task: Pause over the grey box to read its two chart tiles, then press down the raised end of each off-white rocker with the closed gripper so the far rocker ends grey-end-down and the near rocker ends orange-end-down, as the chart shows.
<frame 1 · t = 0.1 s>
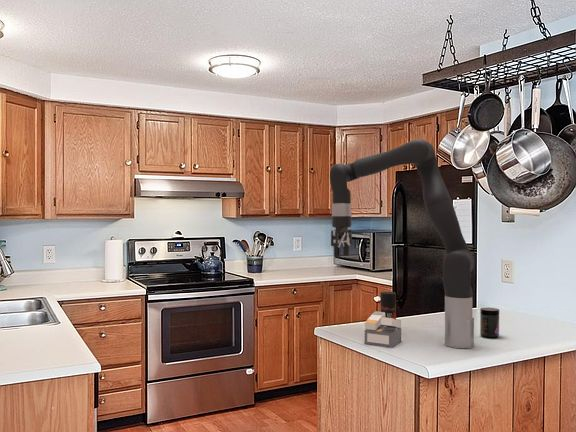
hand: (341, 256, 210), 29 cm above the counter, tool pointing down, fingers open, 8 cm apart
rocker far: (375, 320, 193), point 8 cm above the counter, hinge at -14.0°
grey box: (383, 342, 191), on the counter
supplement container: (489, 337, 200), on the counter
deodorant: (388, 331, 210), on the counter
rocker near: (391, 322, 190), point 8 cm above the counter, hinge at 14.0°
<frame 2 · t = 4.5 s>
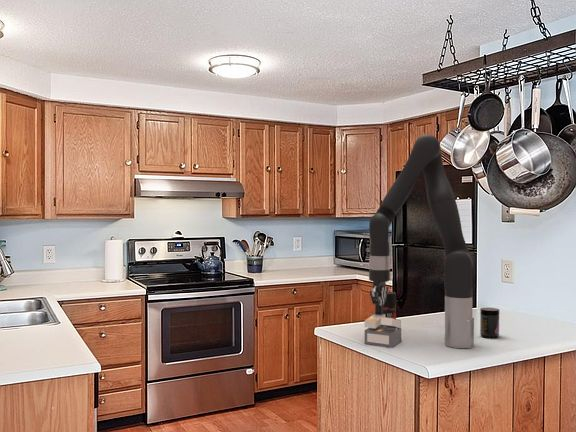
hand: (379, 314, 197), 9 cm above the counter, tool pointing down, fingers closed
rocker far: (375, 320, 193), point 8 cm above the counter, hinge at -5.5°, touching gripper
everything else where it was.
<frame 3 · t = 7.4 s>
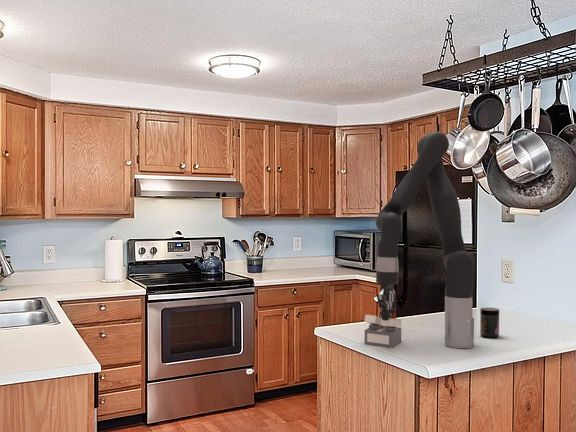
hand: (386, 319, 186), 9 cm above the counter, tool pointing down, fingers closed
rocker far: (375, 320, 193), point 8 cm above the counter, hinge at 17.2°, touching grey box
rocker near: (391, 322, 190), point 8 cm above the counter, hinge at 11.0°, touching gripper
everything else where it was.
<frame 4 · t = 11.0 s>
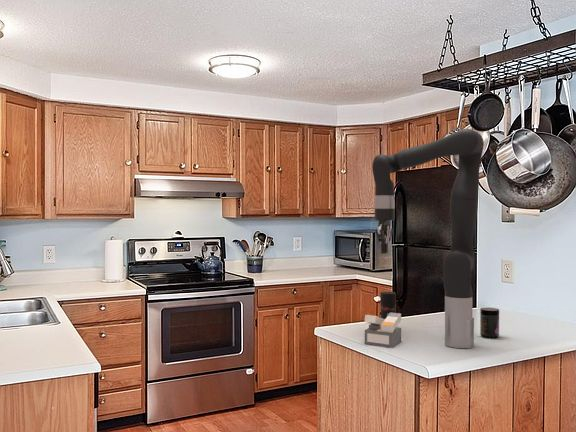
hand: (384, 253, 203), 31 cm above the counter, tool pointing down, fingers closed
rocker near: (391, 322, 189), point 8 cm above the counter, hinge at -16.2°
everything else where it was.
at the end: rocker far at +17° (first picture: -14°); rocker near at -16° (first picture: +14°) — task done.
